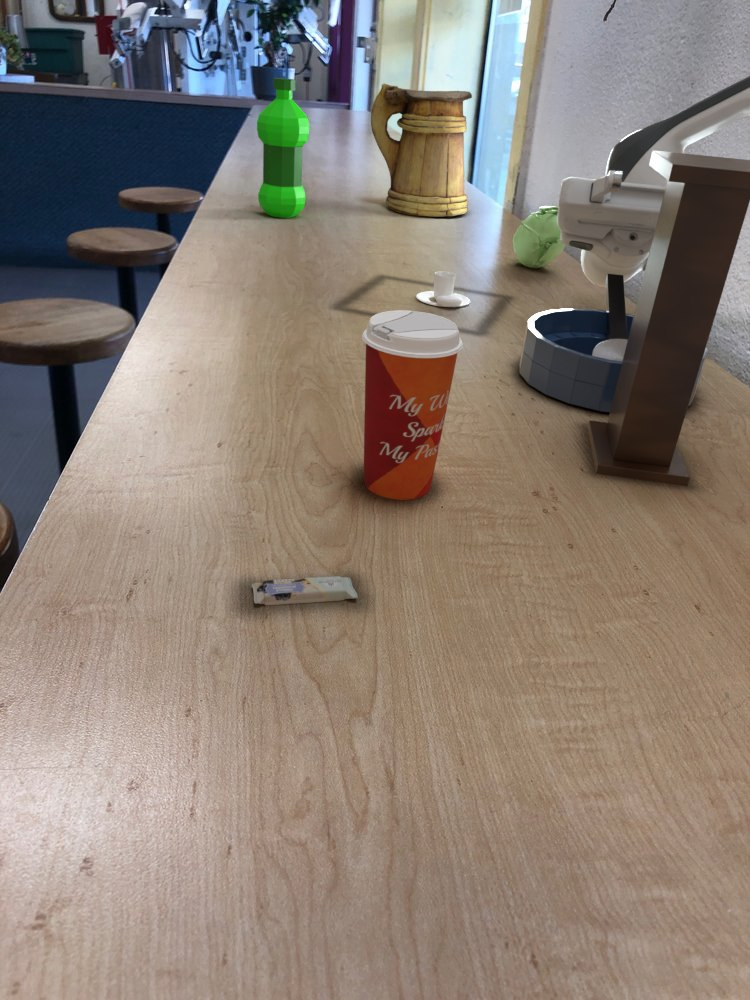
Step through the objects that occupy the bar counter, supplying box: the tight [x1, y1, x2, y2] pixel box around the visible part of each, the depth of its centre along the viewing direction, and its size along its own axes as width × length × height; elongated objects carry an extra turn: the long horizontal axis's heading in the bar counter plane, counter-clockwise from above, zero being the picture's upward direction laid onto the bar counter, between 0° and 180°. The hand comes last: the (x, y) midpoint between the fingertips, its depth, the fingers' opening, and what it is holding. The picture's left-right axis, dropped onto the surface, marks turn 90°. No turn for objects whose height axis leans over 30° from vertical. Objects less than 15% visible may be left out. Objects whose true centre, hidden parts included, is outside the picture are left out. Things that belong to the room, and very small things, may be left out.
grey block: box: [592, 274, 628, 361], centre depth 91 cm, size 7×22×3 cm, turn 171°
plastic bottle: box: [256, 77, 311, 219], centre depth 155 cm, size 10×10×25 cm
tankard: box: [370, 83, 473, 218], centre depth 174 cm, size 18×24×25 cm
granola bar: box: [251, 575, 359, 606], centre depth 51 cm, size 7×2×1 cm, turn 101°
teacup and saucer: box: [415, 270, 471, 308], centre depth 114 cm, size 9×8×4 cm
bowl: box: [518, 308, 709, 413], centre depth 89 cm, size 20×20×6 cm
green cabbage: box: [512, 205, 566, 269], centre depth 135 cm, size 12×11×11 cm
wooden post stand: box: [586, 150, 750, 487], centre depth 68 cm, size 8×10×26 cm
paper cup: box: [361, 309, 464, 501], centre depth 62 cm, size 8×8×14 cm
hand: (658, 181), depth 88 cm, fingers open, 8 cm apart
